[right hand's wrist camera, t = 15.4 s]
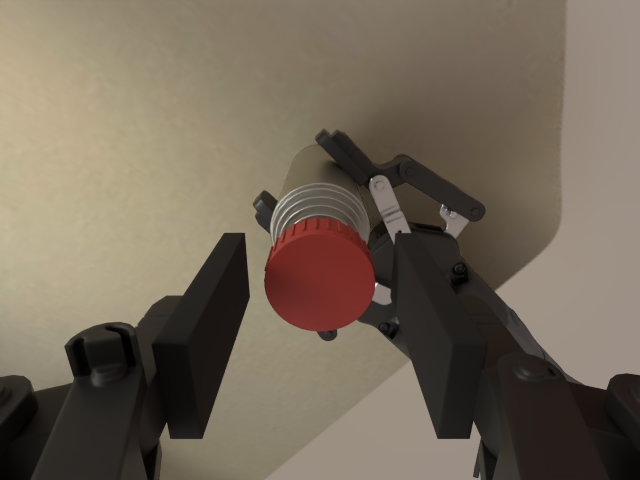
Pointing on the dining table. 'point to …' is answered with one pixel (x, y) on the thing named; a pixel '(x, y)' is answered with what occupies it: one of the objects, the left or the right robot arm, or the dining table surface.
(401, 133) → the dining table surface
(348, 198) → the bottle
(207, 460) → the dining table surface
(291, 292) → the cap
